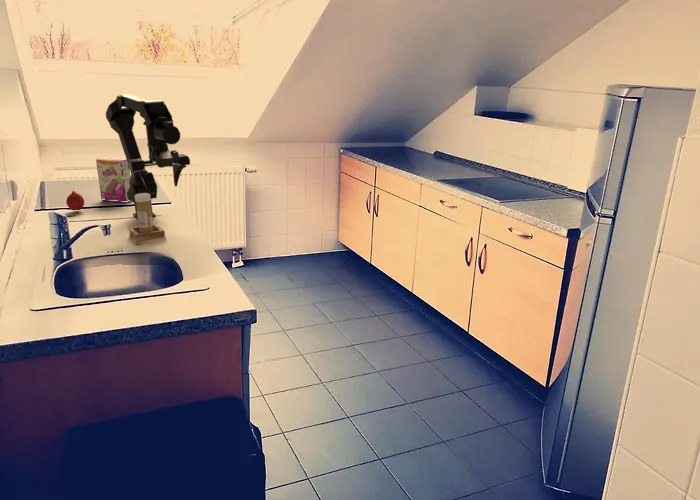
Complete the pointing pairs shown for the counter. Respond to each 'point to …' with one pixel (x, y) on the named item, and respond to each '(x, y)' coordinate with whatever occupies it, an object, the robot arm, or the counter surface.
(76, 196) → the onion
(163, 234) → the holder
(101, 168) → the candy bar box
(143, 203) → the sprinkles bottle
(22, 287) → the counter surface
